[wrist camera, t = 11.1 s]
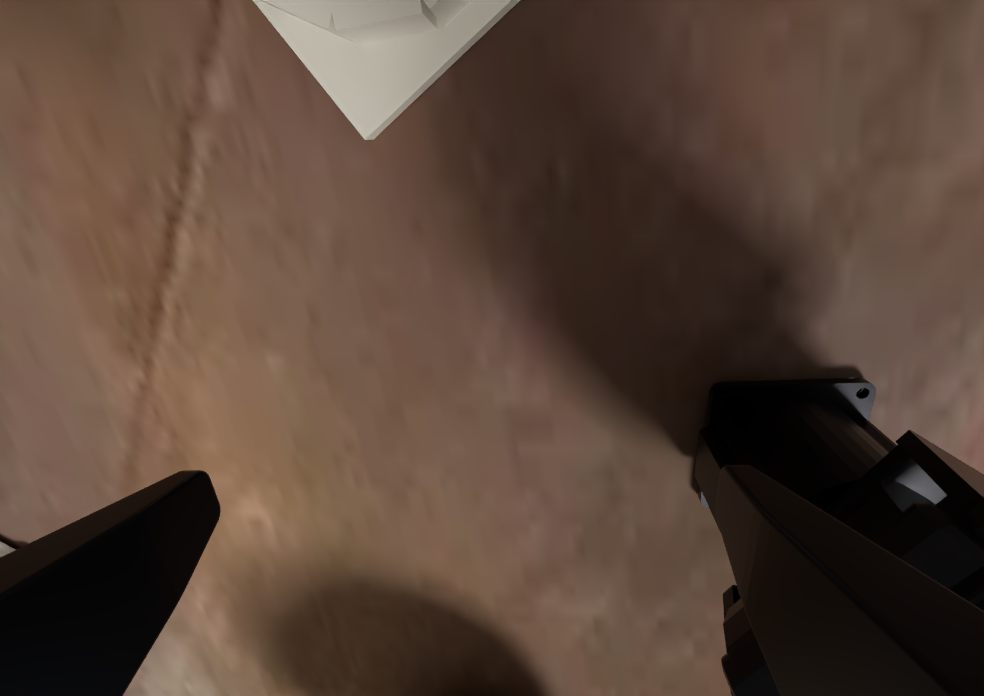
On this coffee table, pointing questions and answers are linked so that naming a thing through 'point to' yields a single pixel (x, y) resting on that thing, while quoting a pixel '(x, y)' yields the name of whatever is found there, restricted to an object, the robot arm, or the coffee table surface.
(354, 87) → the housing
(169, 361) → the coffee table surface
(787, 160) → the coffee table surface
